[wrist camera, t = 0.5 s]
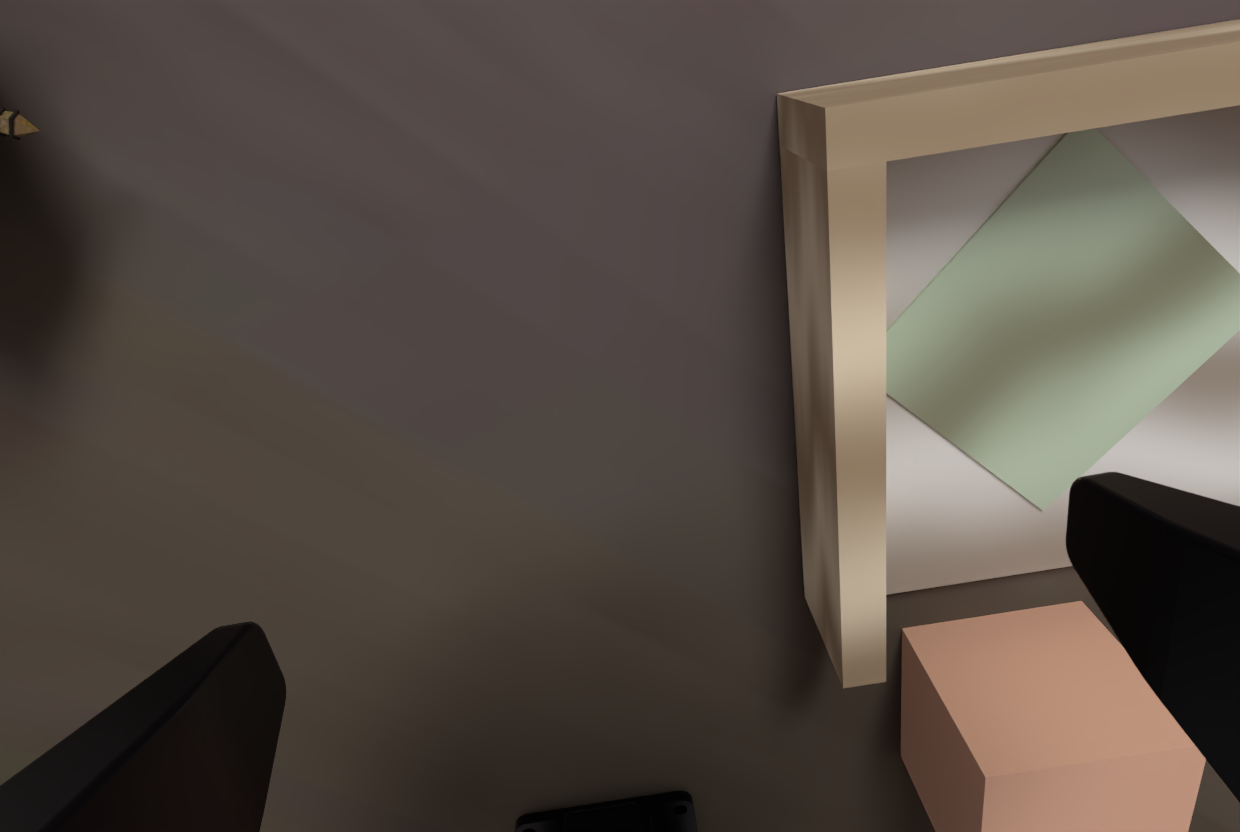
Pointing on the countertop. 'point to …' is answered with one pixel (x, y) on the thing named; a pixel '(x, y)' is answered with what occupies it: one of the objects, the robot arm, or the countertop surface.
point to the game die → (15, 124)
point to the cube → (1040, 728)
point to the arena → (1005, 309)
